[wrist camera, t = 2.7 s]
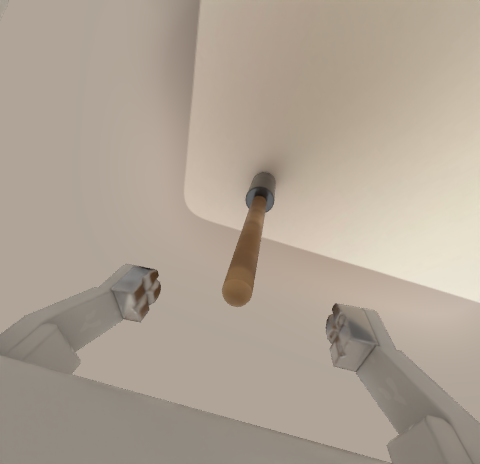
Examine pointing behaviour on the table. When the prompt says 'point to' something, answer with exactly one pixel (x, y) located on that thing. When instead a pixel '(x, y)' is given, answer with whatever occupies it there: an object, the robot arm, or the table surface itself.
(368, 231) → the table surface
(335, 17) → the table surface
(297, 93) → the table surface
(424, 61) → the table surface
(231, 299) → the bottle brush
